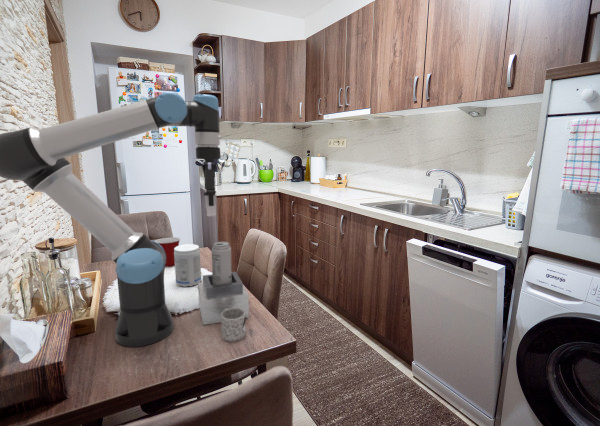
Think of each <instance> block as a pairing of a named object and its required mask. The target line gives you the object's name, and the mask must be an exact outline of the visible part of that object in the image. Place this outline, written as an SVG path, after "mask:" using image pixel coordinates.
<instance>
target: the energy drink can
mask: <svg viewBox="0 0 600 426" xmlns="http://www.w3.org/2000/svg"><path fill="white" fill-rule="evenodd" d="M211 270H212V272H211V273H212V274H211V275H212V278H213V286H214V285H222V284H230V283H232V272H233V271H232V247H231V245H230V243H229V242H228V241H218V242H217V241H216V242H214V243H213V245H212V248H211Z"/></svg>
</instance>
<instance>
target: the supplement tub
mask: <svg viewBox="0 0 600 426" xmlns="http://www.w3.org/2000/svg"><path fill="white" fill-rule="evenodd" d="M174 260H175V265H174V271H175V272H174V273H175V284H176V285H177V286H178V287H182V286H183V287H185V288H186V287H187V286H190V287H194V286H196V285H198V283H202V282H201V281H202V270H201V269H202V268H201V252H200V246H199V245H198V244H194V243H186V244H180V245H178V246H177V247H175V248H174ZM193 285H194V286H193ZM187 288H188V287H187Z"/></svg>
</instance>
